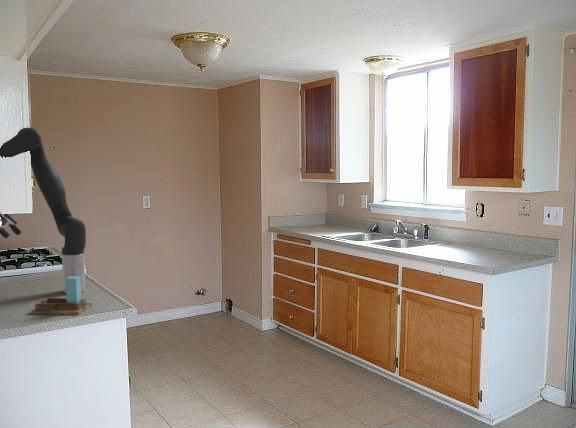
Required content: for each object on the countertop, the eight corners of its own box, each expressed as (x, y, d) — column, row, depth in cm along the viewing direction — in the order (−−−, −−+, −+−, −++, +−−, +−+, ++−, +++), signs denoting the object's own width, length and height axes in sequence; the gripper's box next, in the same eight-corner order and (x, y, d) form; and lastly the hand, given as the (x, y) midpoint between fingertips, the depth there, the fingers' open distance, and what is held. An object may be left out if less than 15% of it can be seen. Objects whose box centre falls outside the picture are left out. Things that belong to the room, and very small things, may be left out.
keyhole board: (47, 304, 210) (47, 296, 210) (91, 305, 210) (91, 296, 210) (31, 314, 198) (31, 305, 197) (78, 314, 197) (77, 305, 197)
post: (71, 305, 206) (70, 276, 204) (81, 306, 206) (80, 276, 204) (67, 308, 202) (65, 278, 200) (77, 308, 202) (76, 278, 200)
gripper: (-21, 201, 198) (10, 231, 199) (0, 198, 212) (29, 226, 213) (-34, 214, 199) (-3, 244, 200) (-12, 211, 213) (17, 239, 214)
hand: (14, 235), depth 206 cm, fingers open, 8 cm apart
